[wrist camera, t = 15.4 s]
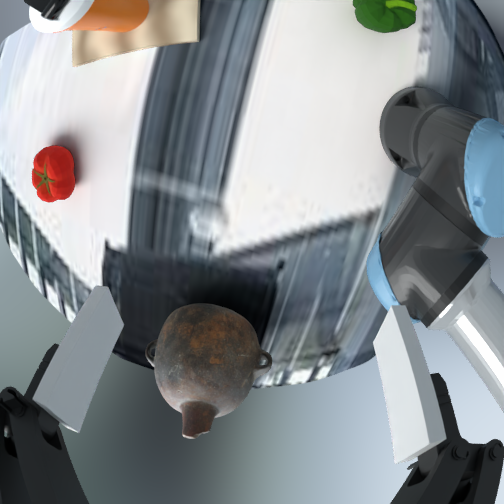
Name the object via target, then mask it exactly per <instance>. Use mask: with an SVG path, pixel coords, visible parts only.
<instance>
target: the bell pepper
mask: <svg viewBox="0 0 504 504" xmlns="http://www.w3.org/2000/svg"><path fill="white" fill-rule="evenodd" d="M353 6H354V7H355V8H356V10H355V15H356V18H357V21H358V22H360V23H361V24H362V25H363V26H364V27H366V28H368V29H371V30H374V31H377V32H382V33H388V32H396V31H399V30H400V29H405V28H408V27H409V26H411V25H412V24H414V23H415V21H416V13H415V11H416V10H417V6H416V5H415V2H414V0H353Z"/></svg>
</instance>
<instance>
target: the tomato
mask: <svg viewBox="0 0 504 504" xmlns="http://www.w3.org/2000/svg"><path fill="white" fill-rule="evenodd" d="M33 164H34V169H33V170H32V183H33V186H34V187H35V188H36V189H37V195H38V197H39V198H40V199H41V200H43V201H46V202H54V201H56V200H58V199H59V200H65V199H67V198H69V197H70V195H71V194H72V192H73V190H74V187H75V177H74V173H73V171H74V160H73V156H72V155H71V153H70V151H69V150H67V149H66V148H64V147H61V146H56V145H54V146H49V147H45V148H43V149H42V150H41V151H40V152H39V153H38V154H36V156H35V158H34V162H33Z"/></svg>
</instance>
